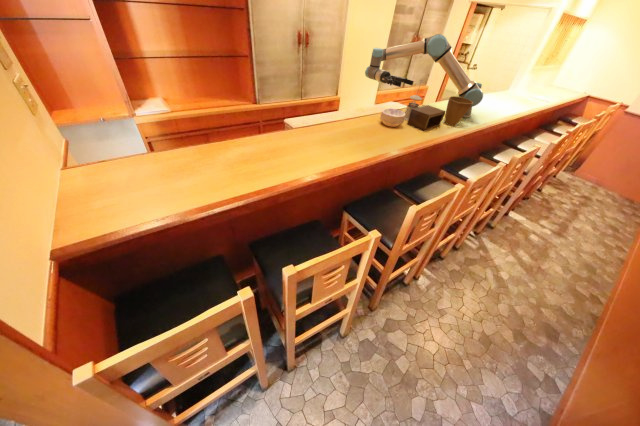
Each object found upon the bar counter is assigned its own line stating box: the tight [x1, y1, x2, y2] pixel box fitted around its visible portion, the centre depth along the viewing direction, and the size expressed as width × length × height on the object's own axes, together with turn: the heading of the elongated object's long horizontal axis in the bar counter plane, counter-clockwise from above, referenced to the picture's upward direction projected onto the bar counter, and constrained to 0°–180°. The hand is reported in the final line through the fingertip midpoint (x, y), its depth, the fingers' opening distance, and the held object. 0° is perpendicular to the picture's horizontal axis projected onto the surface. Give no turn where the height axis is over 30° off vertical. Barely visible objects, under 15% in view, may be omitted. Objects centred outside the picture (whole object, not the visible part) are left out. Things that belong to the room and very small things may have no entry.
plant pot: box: [444, 95, 473, 126], centre depth 166 cm, size 15×15×16 cm
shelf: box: [406, 105, 446, 132], centre depth 160 cm, size 19×13×10 cm
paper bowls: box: [379, 107, 405, 128], centre depth 157 cm, size 15×15×8 cm
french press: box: [404, 79, 424, 121], centre depth 163 cm, size 10×12×25 cm
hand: (406, 84), depth 164 cm, fingers open, 13 cm apart
